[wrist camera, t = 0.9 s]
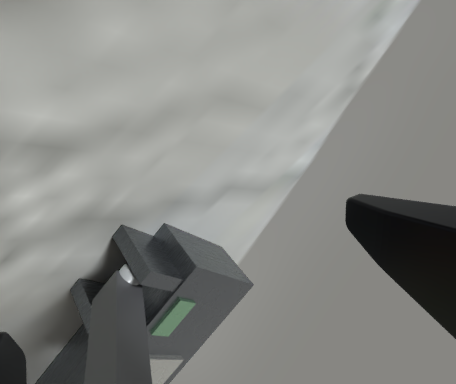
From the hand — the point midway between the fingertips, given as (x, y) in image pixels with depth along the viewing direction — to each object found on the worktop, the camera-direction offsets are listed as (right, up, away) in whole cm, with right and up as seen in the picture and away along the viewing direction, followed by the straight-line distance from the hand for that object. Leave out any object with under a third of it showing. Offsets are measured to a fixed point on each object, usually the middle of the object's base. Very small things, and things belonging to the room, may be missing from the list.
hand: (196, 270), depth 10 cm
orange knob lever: (-6, -4, +13) cm, 15 cm away
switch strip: (-9, -9, +19) cm, 23 cm away
